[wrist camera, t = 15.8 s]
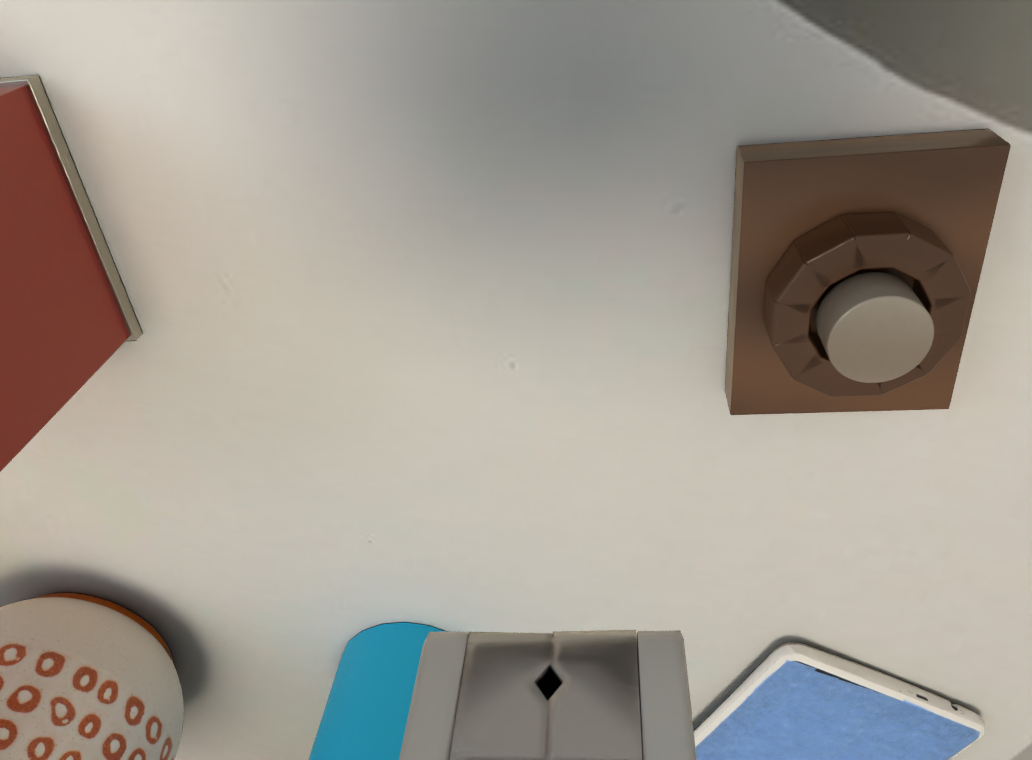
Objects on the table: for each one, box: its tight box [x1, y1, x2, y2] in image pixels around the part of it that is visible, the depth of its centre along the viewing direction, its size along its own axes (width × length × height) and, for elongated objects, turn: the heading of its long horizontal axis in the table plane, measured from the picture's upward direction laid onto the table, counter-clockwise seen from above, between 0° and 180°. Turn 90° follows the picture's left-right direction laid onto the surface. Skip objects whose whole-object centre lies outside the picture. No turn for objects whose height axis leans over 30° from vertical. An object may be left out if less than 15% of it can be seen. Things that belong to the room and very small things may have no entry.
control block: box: [725, 129, 1010, 415], centre depth 28 cm, size 10×8×4 cm
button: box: [816, 272, 934, 383], centre depth 26 cm, size 3×3×2 cm
